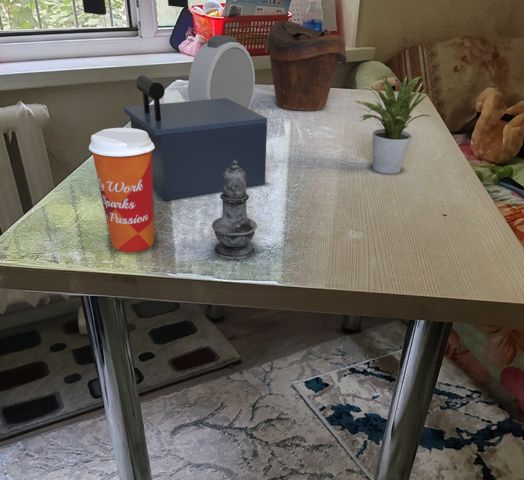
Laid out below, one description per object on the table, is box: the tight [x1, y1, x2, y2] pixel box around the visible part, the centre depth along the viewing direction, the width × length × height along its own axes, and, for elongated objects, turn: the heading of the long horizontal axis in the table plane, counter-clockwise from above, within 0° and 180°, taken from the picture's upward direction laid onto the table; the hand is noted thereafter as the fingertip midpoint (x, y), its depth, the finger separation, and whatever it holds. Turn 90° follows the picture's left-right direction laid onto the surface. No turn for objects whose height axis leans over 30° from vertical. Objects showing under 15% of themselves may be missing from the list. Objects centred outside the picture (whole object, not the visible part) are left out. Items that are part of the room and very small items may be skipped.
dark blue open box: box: [129, 116, 268, 202], centre depth 92 cm, size 18×15×10 cm
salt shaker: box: [211, 159, 258, 260], centre depth 69 cm, size 6×6×12 cm
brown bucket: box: [264, 19, 348, 112], centre depth 134 cm, size 18×20×18 cm
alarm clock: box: [187, 34, 256, 110], centre depth 111 cm, size 16×10×18 cm, turn 146°
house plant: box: [354, 73, 433, 175], centre depth 98 cm, size 14×14×16 cm
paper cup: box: [88, 127, 155, 253], centre depth 69 cm, size 8×8×14 cm
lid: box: [123, 74, 268, 136], centre depth 86 cm, size 19×15×6 cm
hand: (139, 10), depth 65 cm, fingers open, 13 cm apart
